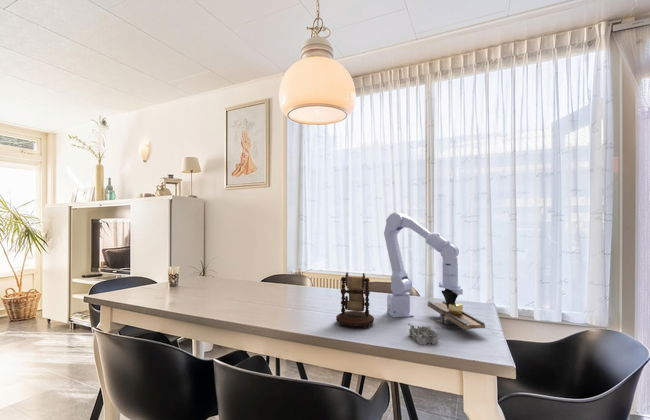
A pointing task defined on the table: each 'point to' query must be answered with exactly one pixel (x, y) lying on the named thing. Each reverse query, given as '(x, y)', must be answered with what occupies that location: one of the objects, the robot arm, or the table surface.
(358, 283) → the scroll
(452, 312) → the brass weight
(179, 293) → the table surface
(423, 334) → the egg carton
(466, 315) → the beam
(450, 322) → the pivot bracket
